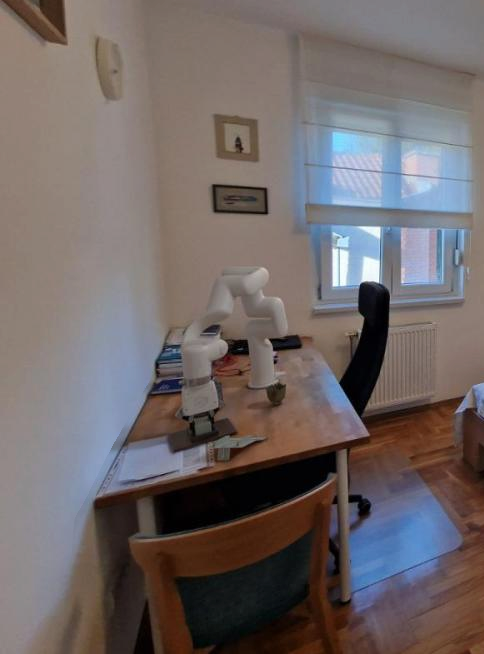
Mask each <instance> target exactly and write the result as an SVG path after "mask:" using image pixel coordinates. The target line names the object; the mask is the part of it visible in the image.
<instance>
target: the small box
mask: <svg viewBox="0 0 484 654" xmlns="http://www.w3.org/2000/svg"><path fill="white" fill-rule="evenodd" d="M214 384H215V387H216V391H217V397H218V399H220V400H221V401H222V402H223V403H224V404H225V402H224V396H223V395H224V394H223V385H222V384H223V383H222V381H214ZM205 416H209V411H207V412H203V413H199V414H195V415H194V417H193V418H201V417H205Z"/></svg>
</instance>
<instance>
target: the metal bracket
mask: <svg viewBox="0 0 484 654" xmlns="http://www.w3.org/2000/svg"><path fill="white" fill-rule="evenodd" d="M266 439H267V436H264V437H263V436H258V437H253V435H252V434H248V435H246V436H244V437H231V436H225V437H223V438H221V439H218V440H215V441H212V445H210V446H207V447H206V448H205V450H207V449H211V450H212V449H217V461H219V462H220V461H229V460H230V459H231V458H230V457H231V449H239V448H244V447H246V446H248V445H250V444H252V443H254V442H256V441H263V440H266Z"/></svg>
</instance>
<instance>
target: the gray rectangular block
mask: <svg viewBox="0 0 484 654" xmlns="http://www.w3.org/2000/svg"><path fill="white" fill-rule="evenodd" d="M193 420H194V421H195V434H196V436H197V435H201V434H204V433H208V432H211V431H212V429H211V422H210V421H209V419H208V416H205V417H197V418H193Z"/></svg>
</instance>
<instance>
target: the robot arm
mask: <svg viewBox="0 0 484 654" xmlns="http://www.w3.org/2000/svg"><path fill="white" fill-rule="evenodd" d="M269 278H270V274H269V271H268V269H266V268H265V267H263V266H243V265H242V266H241V265H240V266H236V265H235V266H227V267H225V268H223V269H222V271H221V276H218V277H216V278H215V280H214V281H213V284H212V286H211V287H212V288H211V290H210V295H209V296H208V297H209V298H208V301H207V303H206V308H205V310H204V311H203V312H202V313H201V314H200V315H198V316H197V317H196V318H195V319H193V321H192V322H191V323H189V325H188V326H187V327H186V329H185V330H184V332H183V336H182V339H181V342H180V347H179V352H180V356H181V364H182V365H181V366H182V372H183V374H182V375H183V378H182V379H181V380H179V381H178V385H180V386H181V385H182V388H181V396H180V397H181V406H180V407H179V409H178V410H177V411H176V413H175V414H174V415H175V418H176V419H179V420H182V421H185V422H188V427H190V431H191V430H192V431H193V433H195V421H194V418H195V417H194V415H195V414H199V413H203V412H207V411H209V416H208V419H209V421H210V422H211V428H213V424H215V423H214V422H215V416H216V415H217V413H218V412H219V411H220V410H221V409H222V408H223V407H224V406H225V402H224V401H223V402H224V403H223V402H222V401H221V400H220V399H218V397H217V391H216V387H215V384H214V382H215V381H214V380H212V378H211V376H212V375H211V368H210V363H211V362H214V361H218V360H220V359H222V358H223V357H224V356H225V355H226V354H227V353H228V350H229V344H228V343H227V342H226V341H225V340H224V339H220V338H200V336H201V335H202V333H203V332H204V331H205V330H206V329H208V328H210V327H211V326H213V325H215V324H218V323H220V322H222V321H225V320H228V319H229V318H231V316H232V314H233V311H234V308H235V303H236V299H237V298H238V297H239V298H240V300H241V304H242V308H243V311H244V314H245V316H246V317H248V318H250V319H248V320H247V321H245V324H244V333H245V336H246V339H247V340H246V341H247V345H248V352H249V353H248V355H249V356H248V357H249V368H250V370H249V371H250V381H248V382H247V387H248V388H249V389H255V390H256V389H266V388H267V386H268V387H269V385H270V386H271V384H272V385H273V386H274V384H276V385H277V384H278V383H279V381H280V380H279V378H280V377H285V376H286V375H287V373H286V371H277V372H276V371H275V363H274V349H273V344H272V343H271V340H270V339H282V338H284V337H286V335H287V334H288V333H289V324H288V319H287V314H286V309H285V304H284V302H283V300H282V299H281V298H280V297H277V296H265V295H264V293H263V290H262V289H263V288H264V287H265V286H266V285H267V284H268V282H269Z"/></svg>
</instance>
